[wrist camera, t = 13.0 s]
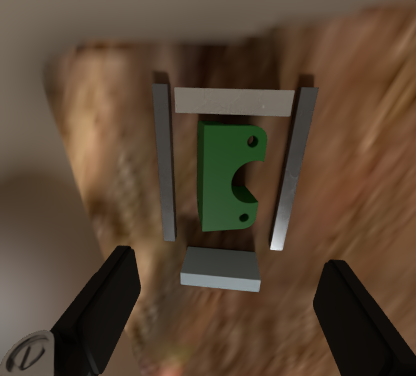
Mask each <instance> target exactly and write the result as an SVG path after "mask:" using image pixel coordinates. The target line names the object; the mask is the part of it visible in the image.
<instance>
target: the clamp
mask: <svg viewBox="0 0 416 376" xmlns="http://www.w3.org/2000/svg"><path fill="white" fill-rule="evenodd" d="M250 136H253V141H252V143H251V144H247V140H248V138H249V137H250ZM266 145H267V135H266V133H265V131H264V130H263V129H262V128H260V127H258V126H254V125H250V124H223V123H221V122H219V121H199V122H198V143H197V206H198V213H199V218H200V223H201V228H202V232H204V231H218V230H232V229H245V228H248V227H250V226H251V225H252V224H253V223H254V222H255V219H256V214H257V207H258V201H257V200H256V199H255V197H254V196H253V195H252V194H251V193H250V191H249V190H248V189H247V188H246V186H239V187H237V186H232V185H231V181H232V178H233V175H234V174H235V172H236V171H237V169H238V168H239V167H241V166H242V165H243V164H245V163H247V162H250V161H255V160H258V161H263V162H264V159H265V152H266ZM241 214H243V215H241Z"/></svg>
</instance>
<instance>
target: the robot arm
mask: <svg viewBox="0 0 416 376" xmlns="http://www.w3.org/2000/svg"><path fill="white" fill-rule="evenodd" d="M140 291H141V284H140V279H139V274H138V268H137V263H136V258H135V252H134V250H133V249H131V247H130V246H120V245H119V246H117V247H116V248H115V250H114V251H113V252H112V253H111V255H110V256H109V257H108V259H107V260H106V261H105V263H104V264H103V265H102V267H101V268H100V269H99V271H98V272H96V273H95V274H94V275H93V276H92V278H91V279H90V280H89V281H88V283H87V284H86V285H85V287H84V288H83V289H82V291H81V292H80V293H79V294H78V295H77V297H76V298H75V300H74V301H73V302H72V303H71V305H70V306H69V307H68V308H67V310H66V311H65V312H64V313H63V315H62V316H61V317H60V319H59V320H58V321H57V322H56V324H55V325H54V326H53V328H52V329H51V330H50V331H47V330H41V331H37V332H34V333H31V334H29V335H28V336H26V337H24V338H22V339H21V340H20V341H18V342H17V343H16V344H15V345H14V346H13V347H12V348H11V349H10V350H9V351H8V352H7V353H6V355H5V356H4V358H3V359H2V362H1V364H0V376H98V375H99V374H102V373H103V371H104V370H105V368H106V366H107V364H108V361H109V359H110V357H111V355H112V353H113V351H114V349H115V346H116V344H117V342H118V340H119V338H120V336H121V333H122V331H123V329H124V327H125V325H126V323H127V320H128V318H129V316H130V314H131V312H132V310H133V307H134V305H135V303H136V301H137V299H138V297H139V294H140ZM313 307H314V311H315V313H316V315H317V318H318V320H319V323H320V325H321V328H322V330H323V332H324V335H325V337H326V340H327V342H328V345H329V347H330V350H331V352H332V354H333V357H334V359H335V362H336V364H337V367H338V369H339V371H340V374H341V376H416V356H415V354H414V353H413V351H412V350H411V349H410V347H409V346H408V345H407V343H406V342H405V341H404V339H403V338H402V336H401V335H400V334H399V332H398V331H397V330H396V328H395V327H394V326H393V324H392V323H391V322H390V320H389V319H388V317H387V316H386V315H385V313H384V312H383V311H382V309H381V308H380V307H379V305H378V304H377V303H376V301H375V300H374V298H373V297H372V296H371V295H370V294H369V293H368V291H367V290H366V289H365V287H364V286H363V284H362V283H361V282H360V280H359V279H358V278H357V276H356V275H355V274H354V272H353V271H352V269H351V268H350V267H349V265H348V264H347V263H346V262H345V261H344V260H329V261H328V263H325V264H324V268H323V271H322V274H321V277H320V281H319V284H318V287H317V290H316V294H315V297H314V300H313Z"/></svg>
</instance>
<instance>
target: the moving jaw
mask: <svg viewBox="0 0 416 376" xmlns="http://www.w3.org/2000/svg"><path fill="white" fill-rule="evenodd" d="M260 282H261V279H260V274H259V268H258V262H257V257H256V252H246V251H234V250H223V249H211V248H199V247H188V248H187V252H186V255H185V259H184V262H183V266H182V270H181V284H184V285H194V286H204V287H214V288H224V289H234V290H243V291H253V292H259V287H260Z"/></svg>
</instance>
